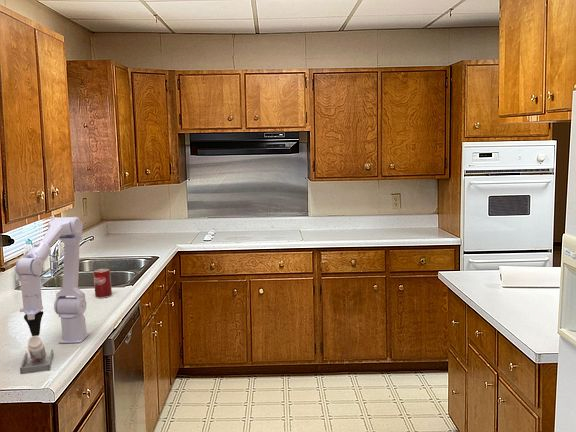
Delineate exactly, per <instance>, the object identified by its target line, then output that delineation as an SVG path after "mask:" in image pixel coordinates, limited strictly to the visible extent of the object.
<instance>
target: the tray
mask: <svg viewBox="0 0 576 432" xmlns="http://www.w3.org/2000/svg"><path fill="white" fill-rule="evenodd" d="M54 355H55V354H54V349H51V350H50V355H49V358H48V359H47V360H41V361H38V362H36V361H31V362H30V361H29V362H27V361H28V359H29V356H28V352H25V355H24V356H23V359H22V362H21V363H20V364H21V365H20V367H19V373H20V375H22V374H24V375H25V374H30V373H31V374H32V373H39V372H45V371H46V372H47V371H51V367H52V363H53V358H54Z"/></svg>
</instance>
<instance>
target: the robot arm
mask: <svg viewBox="0 0 576 432" xmlns="http://www.w3.org/2000/svg"><path fill="white" fill-rule="evenodd" d="M83 225H84V224H83V222H82V220H81V219H80V218H79V217H78V216H70V217H69V216H67V217H63V216H62V217H61V216H60V217H59V216H58V217H57V216H53V217H51V219H49V221H48V223H47V231H46V233H45V235H43V238H42V239H41V240H40V241H36V242H35V243H34V244H33V246H32V247H31V248H30V250H29V251H28V252H27V253H26V255H25V256H24V257H20V258H19V259H18V260H17V261H16V262H15V268H14V271H15V274H16V275H17V277H18V281H19V282H20V288H21V298H22V307H21V308H19V312H20V313H24V316H23V319H24V321H25V322H26V323H27V325H28V328H29V331H30V334H31V337H34V336H37V337H40V333H41V323H42V318H43V316H44V311H43V310H44V306H43V299H42V287H41V281H40V280H41V279H40V274H41V273H42V272H43V267H44V264H45V263H44V262H45V261H46V260H47V258H48V256H50V254H51V247H52V246H53V245H54V244H55V243H56V242H57V240H59V241H61V242H62V243H63V244H64V246H63V247H64V249H63V274H62V288H61V289H60V290H58V292H57V293H56V295H55V301H54V303H53V304H54V305H53V308H54V309H53V310H54V312H55V313H56V315H58V318H60V324H61V326H60V327H61V335H62V338H61V339H60V340H59V341H58V344H71V343H72V344H74V343H75V344H76V343H78V344H80V343H82V342H83V341H84V340H85V339H86V338H87V337H88V336H89V335H90V333H89V332H87V325H86V324H87V323H86V317H85V315H84V314H85V312H86V310H87V301H86V294H85V292H84V291H83V290H81V289H80V288H79V275H80V273H79V271H80V248H81V247H80V246H81V245H80V243H81V241H82V240H83V227H84V226H83Z"/></svg>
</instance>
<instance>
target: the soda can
mask: <svg viewBox="0 0 576 432" xmlns="http://www.w3.org/2000/svg"><path fill="white" fill-rule="evenodd" d="M92 273H93V285H94V295H95V298H97V299H107V298H110V297H112V296H113V292H112V291H113V289H112V278H111V270H110V269H109V268H98V269H95V270H93V272H92Z"/></svg>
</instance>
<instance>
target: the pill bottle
mask: <svg viewBox="0 0 576 432" xmlns="http://www.w3.org/2000/svg"><path fill="white" fill-rule="evenodd" d="M27 349H28V352H29V356H30V359H31V360H32V362H38V361H44V359H45V358H46V356H47V352H46V348H45V344H44V341H42V339H41V337H40V336H31V337H30V338H29V339H28V341H27Z"/></svg>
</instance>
